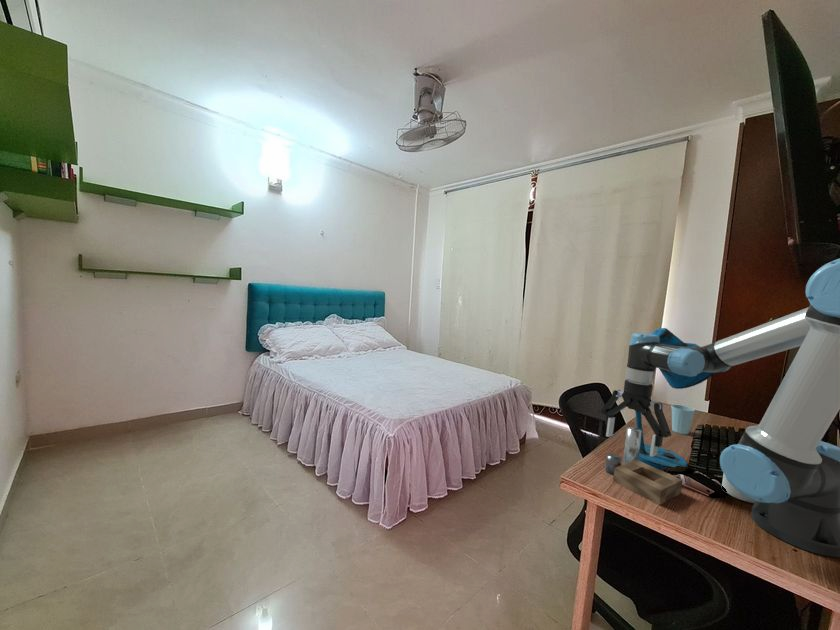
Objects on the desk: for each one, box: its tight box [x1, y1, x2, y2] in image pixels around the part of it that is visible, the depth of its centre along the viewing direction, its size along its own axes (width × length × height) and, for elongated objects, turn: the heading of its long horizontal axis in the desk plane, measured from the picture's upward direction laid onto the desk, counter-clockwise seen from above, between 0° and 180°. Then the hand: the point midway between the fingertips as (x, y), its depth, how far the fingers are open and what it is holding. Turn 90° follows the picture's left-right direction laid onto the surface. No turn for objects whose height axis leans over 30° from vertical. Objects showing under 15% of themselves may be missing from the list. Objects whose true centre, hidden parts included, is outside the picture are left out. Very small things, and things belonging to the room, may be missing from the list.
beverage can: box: [721, 472, 756, 504], centre depth 92 cm, size 8×8×12 cm
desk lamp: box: [634, 327, 716, 471], centre depth 109 cm, size 16×22×45 cm
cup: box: [670, 404, 696, 435], centre depth 137 cm, size 8×8×10 cm
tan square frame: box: [612, 460, 683, 506], centre depth 93 cm, size 12×12×4 cm
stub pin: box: [604, 452, 623, 476], centre depth 100 cm, size 4×4×5 cm
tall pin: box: [622, 426, 642, 465], centre depth 105 cm, size 4×4×12 cm
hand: (630, 445), depth 106 cm, fingers open, 13 cm apart
